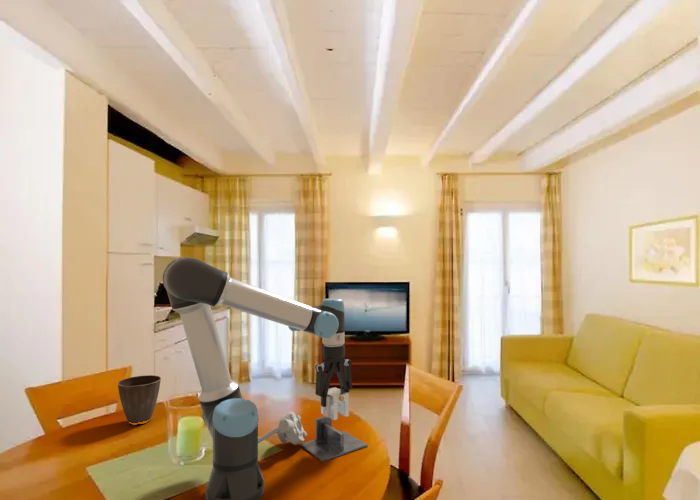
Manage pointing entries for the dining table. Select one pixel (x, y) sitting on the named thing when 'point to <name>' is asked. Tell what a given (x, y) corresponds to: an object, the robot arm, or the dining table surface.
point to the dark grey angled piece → (331, 441)
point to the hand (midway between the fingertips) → (334, 413)
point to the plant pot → (139, 397)
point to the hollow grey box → (337, 403)
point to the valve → (288, 430)
